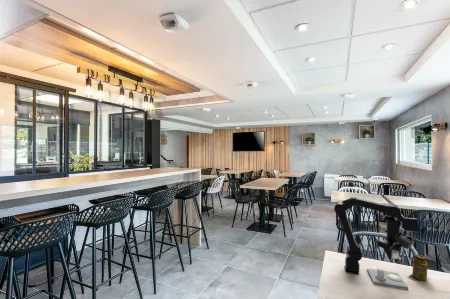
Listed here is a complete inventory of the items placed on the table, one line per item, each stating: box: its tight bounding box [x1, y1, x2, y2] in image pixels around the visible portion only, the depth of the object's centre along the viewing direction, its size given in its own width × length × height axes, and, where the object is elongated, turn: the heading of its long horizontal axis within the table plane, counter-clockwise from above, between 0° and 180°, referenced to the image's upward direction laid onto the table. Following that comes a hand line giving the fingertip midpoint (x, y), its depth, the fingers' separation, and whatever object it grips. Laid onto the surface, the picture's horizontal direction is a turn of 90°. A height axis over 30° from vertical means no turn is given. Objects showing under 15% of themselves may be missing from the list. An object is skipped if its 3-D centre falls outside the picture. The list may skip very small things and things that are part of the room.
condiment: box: [407, 254, 431, 285], centre depth 126 cm, size 7×8×12 cm
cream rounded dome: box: [384, 250, 402, 260], centre depth 124 cm, size 7×5×3 cm
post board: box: [366, 267, 409, 290], centre depth 125 cm, size 15×13×6 cm
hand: (392, 257), depth 124 cm, fingers closed on cream rounded dome, 5 cm apart
